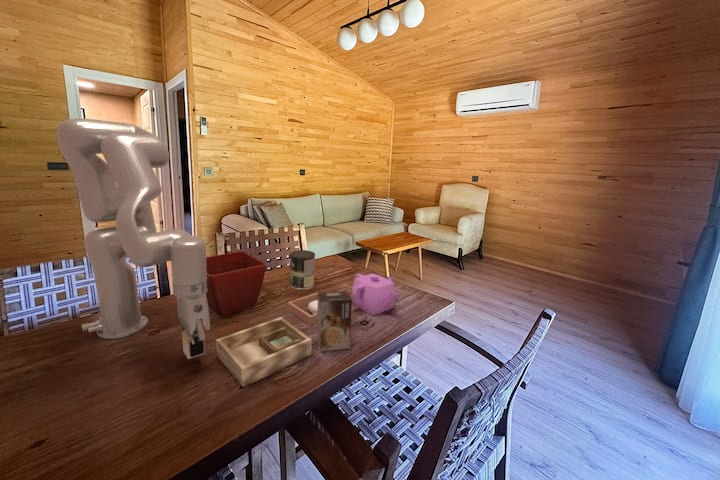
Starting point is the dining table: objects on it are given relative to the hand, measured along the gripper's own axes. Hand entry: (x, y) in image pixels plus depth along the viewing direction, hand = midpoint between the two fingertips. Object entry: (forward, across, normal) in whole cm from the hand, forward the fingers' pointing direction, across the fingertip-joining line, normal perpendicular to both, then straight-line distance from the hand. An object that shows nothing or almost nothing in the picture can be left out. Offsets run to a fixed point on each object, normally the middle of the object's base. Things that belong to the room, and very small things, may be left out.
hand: (193, 349), depth 84 cm
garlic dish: (+3, +3, -41) cm, 42 cm away
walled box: (+3, -9, -15) cm, 18 cm away
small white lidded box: (+1, 0, 0) cm, 1 cm away
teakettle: (+3, -7, -62) cm, 63 cm away
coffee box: (+3, -17, -33) cm, 38 cm away
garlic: (+4, +2, -43) cm, 44 cm away
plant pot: (+5, +25, -20) cm, 32 cm away
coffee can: (+4, +25, -51) cm, 57 cm away
